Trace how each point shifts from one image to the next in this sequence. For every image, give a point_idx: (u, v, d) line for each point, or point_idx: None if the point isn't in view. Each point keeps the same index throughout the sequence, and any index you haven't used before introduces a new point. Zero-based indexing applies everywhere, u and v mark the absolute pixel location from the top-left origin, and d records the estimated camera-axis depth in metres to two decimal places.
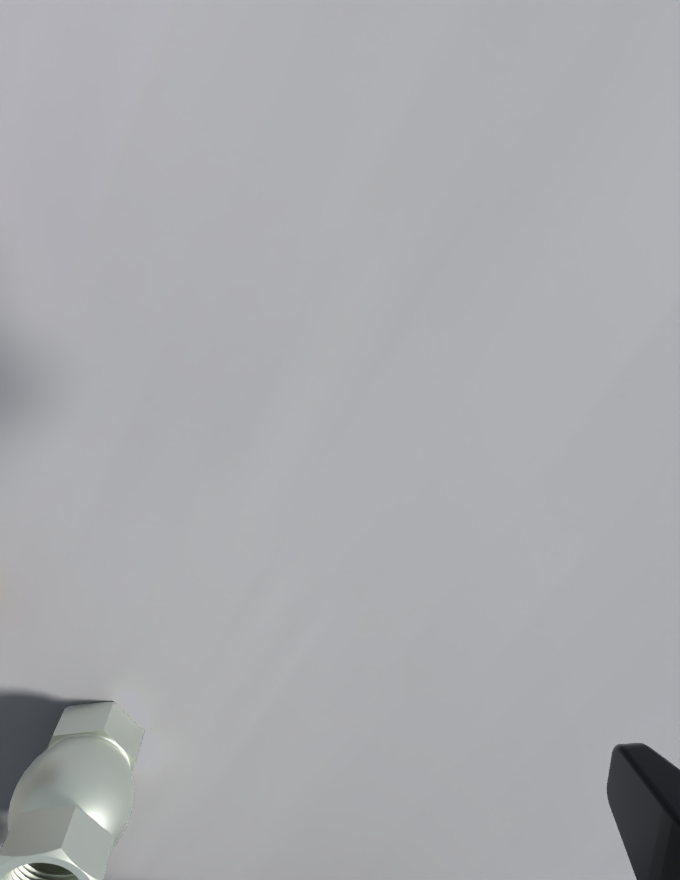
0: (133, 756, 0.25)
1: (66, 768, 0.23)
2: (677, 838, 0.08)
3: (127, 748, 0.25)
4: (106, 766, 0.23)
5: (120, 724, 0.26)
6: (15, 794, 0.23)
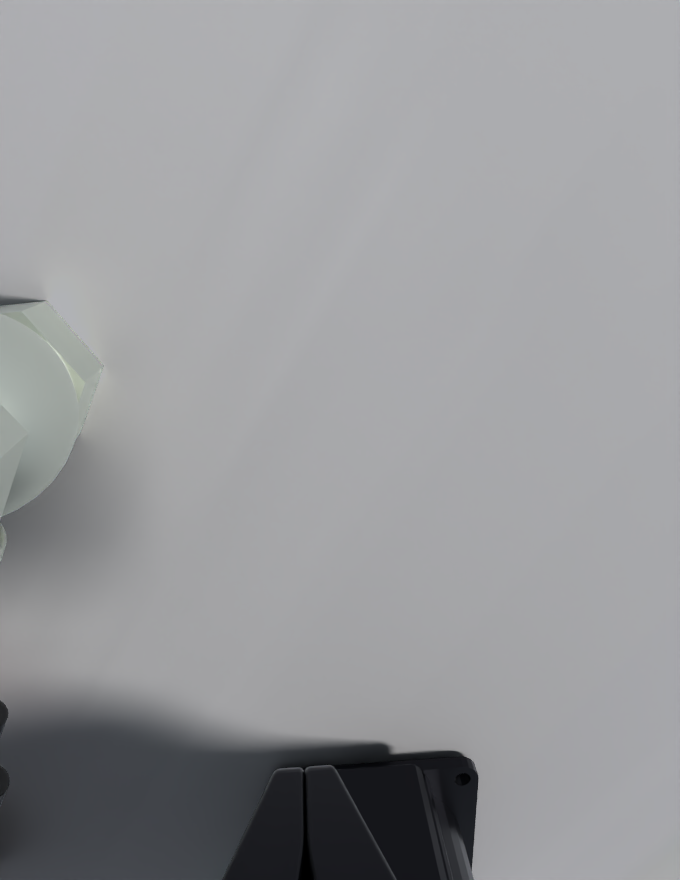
0: (79, 374, 0.14)
1: None
2: None
3: (68, 360, 0.14)
4: (18, 331, 0.12)
5: (56, 329, 0.15)
6: None
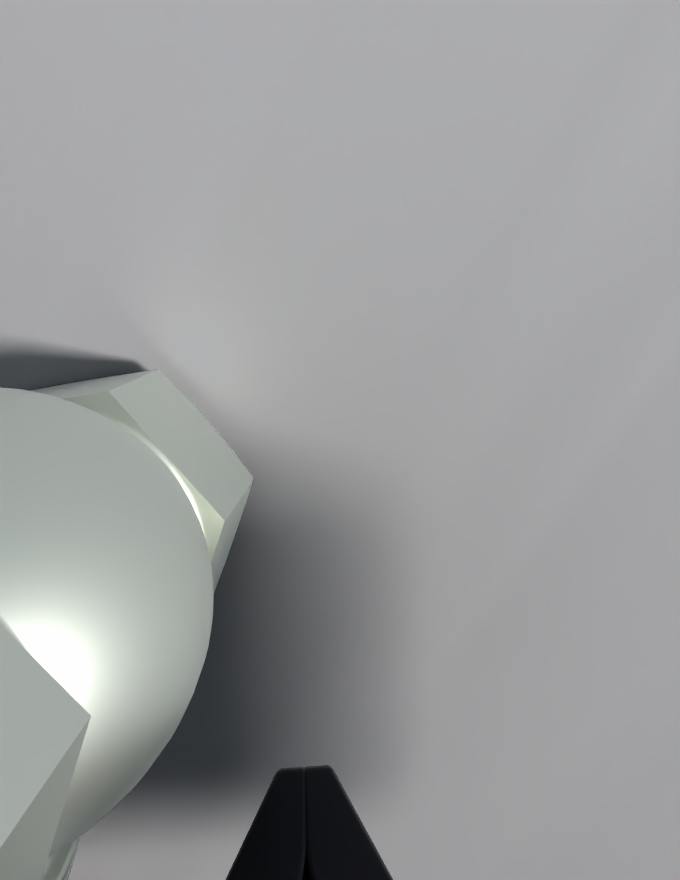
0: (214, 505, 0.07)
1: None
2: None
3: (194, 478, 0.07)
4: (88, 436, 0.06)
5: (175, 419, 0.08)
6: None
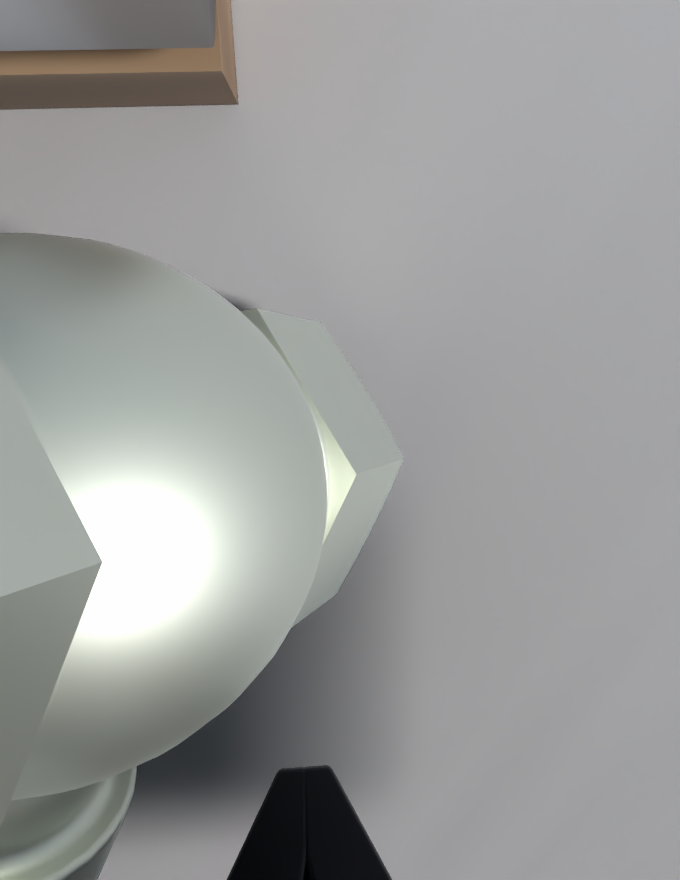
0: (348, 455, 0.06)
1: None
2: None
3: (331, 423, 0.06)
4: (208, 299, 0.05)
5: (325, 367, 0.07)
6: None
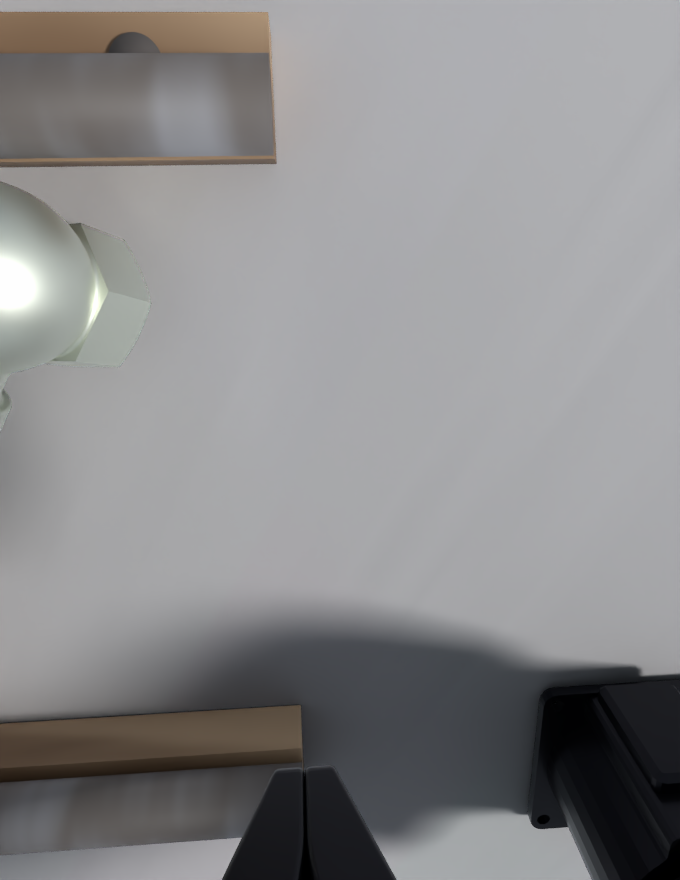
0: (107, 284, 0.15)
1: None
2: None
3: (105, 272, 0.16)
4: (41, 206, 0.14)
5: (115, 255, 0.16)
6: None
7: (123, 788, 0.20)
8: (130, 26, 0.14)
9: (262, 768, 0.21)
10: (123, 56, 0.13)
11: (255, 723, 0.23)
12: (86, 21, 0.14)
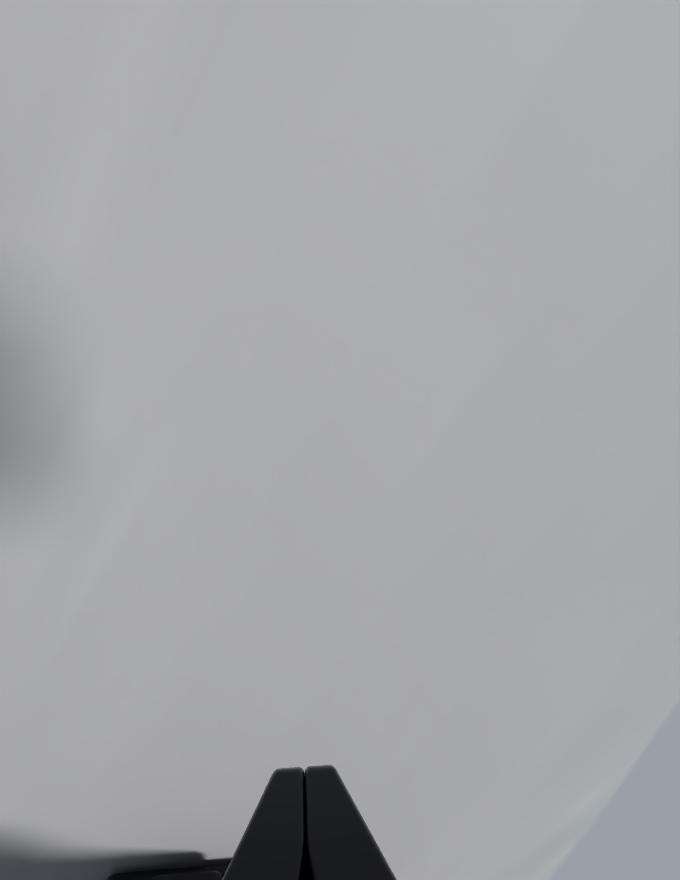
0: None
1: None
2: None
3: None
4: None
5: None
6: None
7: None
8: None
9: None
10: None
11: None
12: None
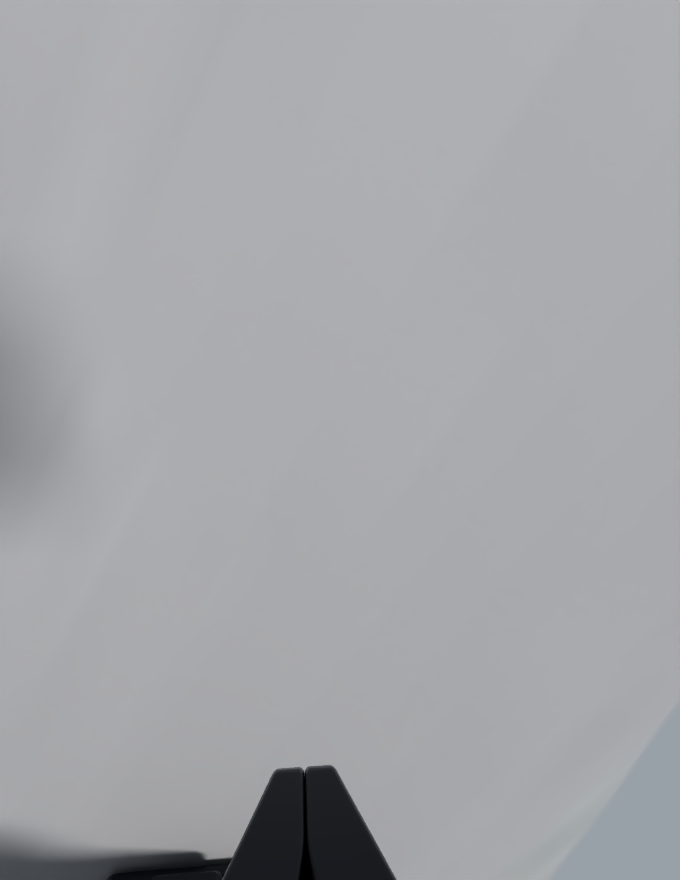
0: None
1: None
2: None
3: None
4: None
5: None
6: None
7: None
8: None
9: None
10: None
11: None
12: None
